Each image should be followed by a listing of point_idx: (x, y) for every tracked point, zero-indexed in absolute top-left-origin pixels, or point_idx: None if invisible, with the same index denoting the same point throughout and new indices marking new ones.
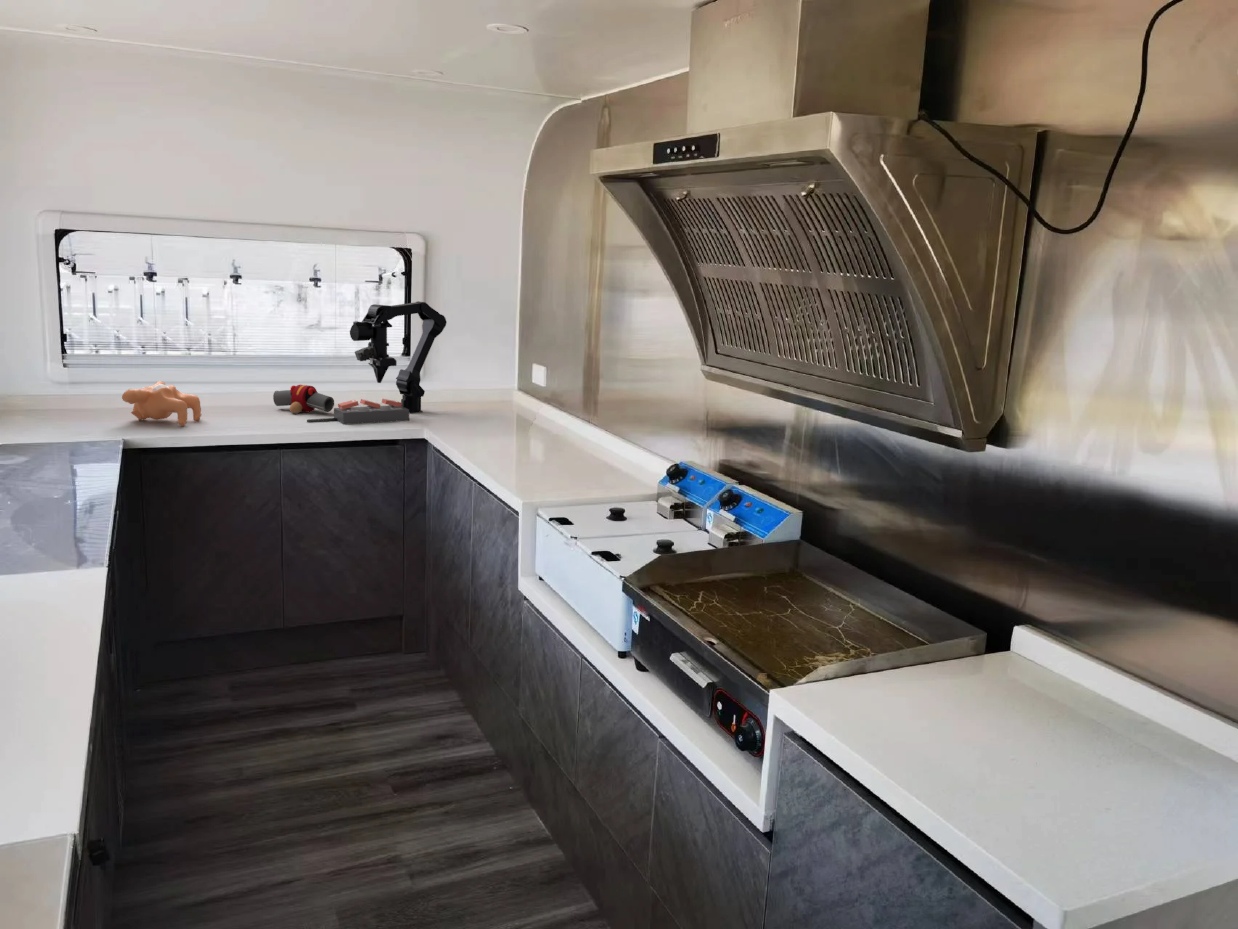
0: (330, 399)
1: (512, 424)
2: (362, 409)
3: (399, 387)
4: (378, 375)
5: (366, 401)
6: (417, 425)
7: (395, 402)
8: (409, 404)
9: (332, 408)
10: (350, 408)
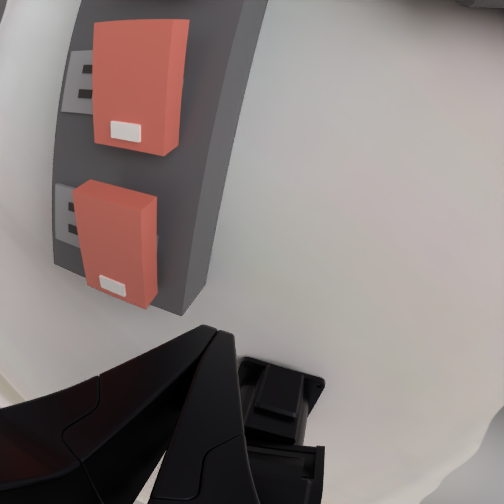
0: None
1: (24, 395)
2: (135, 19)
3: (272, 462)
4: (115, 379)
5: (94, 35)
6: (17, 207)
7: (82, 248)
8: (242, 400)
9: (459, 3)
10: None
